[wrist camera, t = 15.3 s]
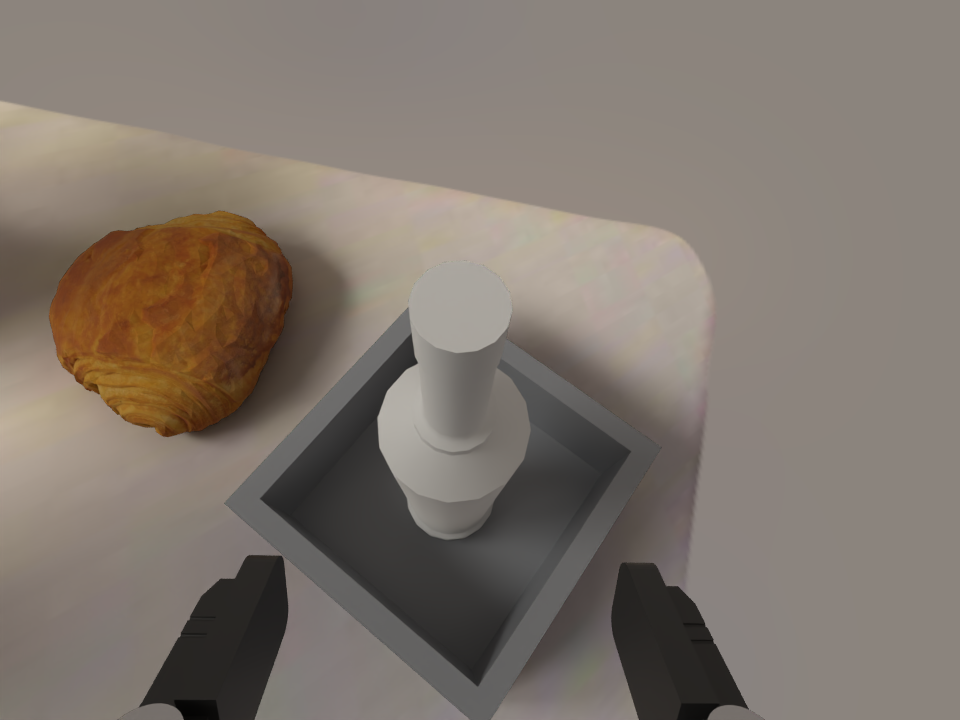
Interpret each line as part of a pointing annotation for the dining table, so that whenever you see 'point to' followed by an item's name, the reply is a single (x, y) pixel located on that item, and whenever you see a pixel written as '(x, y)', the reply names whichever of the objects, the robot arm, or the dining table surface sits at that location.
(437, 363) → the bottle
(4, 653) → the dining table surface
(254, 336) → the croissant
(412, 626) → the charcoal tub
